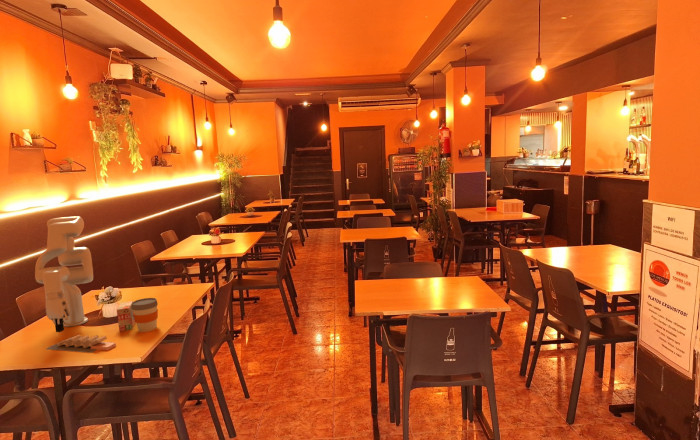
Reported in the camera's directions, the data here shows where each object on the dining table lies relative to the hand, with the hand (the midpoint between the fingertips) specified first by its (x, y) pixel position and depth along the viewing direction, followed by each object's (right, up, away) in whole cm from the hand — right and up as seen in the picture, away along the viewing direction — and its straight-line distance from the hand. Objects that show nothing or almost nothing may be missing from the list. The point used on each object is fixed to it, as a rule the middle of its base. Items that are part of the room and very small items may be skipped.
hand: (60, 331), depth 228 cm
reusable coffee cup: (+35, -3, +18) cm, 40 cm away
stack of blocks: (+21, -3, +27) cm, 34 cm away
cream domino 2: (+5, -6, -1) cm, 8 cm away
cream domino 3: (+10, -6, -2) cm, 12 cm away
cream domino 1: (0, -6, +1) cm, 6 cm away
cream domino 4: (+15, -6, -3) cm, 17 cm away
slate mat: (+10, -7, -2) cm, 12 cm away
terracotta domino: (+20, -6, -5) cm, 21 cm away
